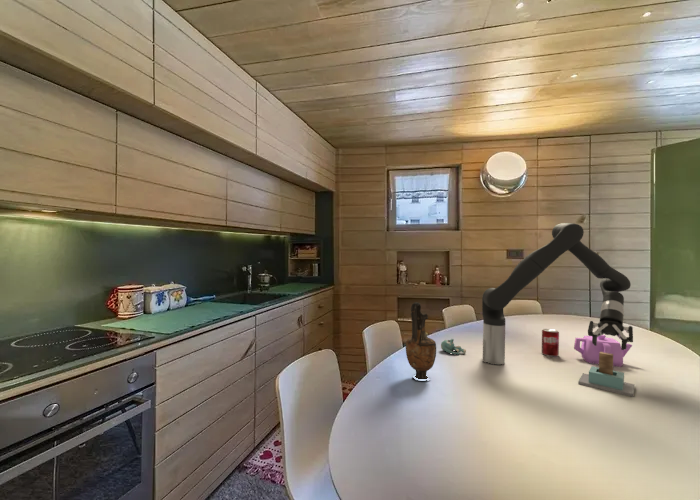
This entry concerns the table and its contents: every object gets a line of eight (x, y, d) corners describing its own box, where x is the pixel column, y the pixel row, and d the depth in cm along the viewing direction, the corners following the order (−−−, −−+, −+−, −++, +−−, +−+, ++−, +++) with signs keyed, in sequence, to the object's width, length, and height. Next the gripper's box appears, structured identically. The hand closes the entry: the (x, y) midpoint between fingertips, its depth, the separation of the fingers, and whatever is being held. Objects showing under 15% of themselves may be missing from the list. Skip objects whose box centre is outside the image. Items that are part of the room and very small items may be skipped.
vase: (441, 378, 129) (442, 301, 129) (424, 387, 120) (426, 304, 120) (415, 370, 137) (416, 298, 137) (397, 378, 128) (399, 301, 128)
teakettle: (570, 357, 159) (571, 332, 159) (592, 354, 166) (593, 329, 166) (610, 369, 144) (611, 341, 144) (633, 365, 151) (633, 337, 151)
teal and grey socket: (578, 383, 127) (578, 370, 127) (582, 375, 136) (583, 363, 136) (633, 396, 116) (633, 382, 116) (634, 386, 125) (634, 373, 125)
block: (598, 382, 126) (599, 353, 126) (599, 380, 128) (600, 351, 128) (612, 385, 124) (612, 355, 124) (612, 383, 125) (613, 354, 126)
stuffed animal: (466, 346, 156) (441, 338, 161) (463, 360, 157) (438, 352, 162) (468, 340, 166) (444, 333, 171) (465, 354, 167) (441, 346, 171)
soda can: (561, 357, 159) (561, 332, 159) (544, 356, 160) (545, 331, 160) (555, 353, 166) (555, 329, 166) (539, 352, 167) (539, 328, 167)
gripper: (590, 306, 142) (585, 337, 133) (634, 310, 132) (632, 345, 123) (591, 316, 145) (587, 348, 137) (634, 322, 136) (632, 356, 127)
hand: (608, 346), depth 130 cm, fingers open, 8 cm apart
